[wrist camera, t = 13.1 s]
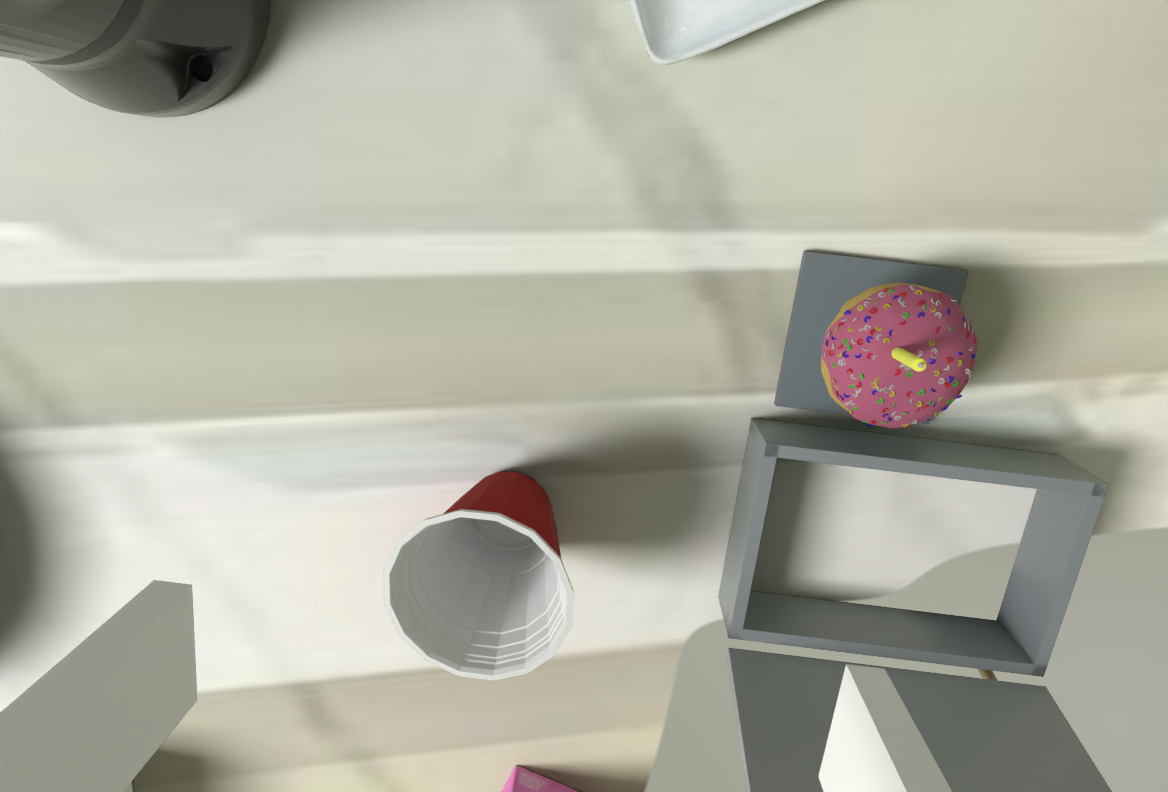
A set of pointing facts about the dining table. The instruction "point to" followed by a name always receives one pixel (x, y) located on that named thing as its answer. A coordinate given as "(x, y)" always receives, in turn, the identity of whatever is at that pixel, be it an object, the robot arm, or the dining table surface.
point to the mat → (818, 304)
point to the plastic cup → (483, 582)
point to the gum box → (532, 783)
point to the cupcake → (898, 354)
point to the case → (907, 634)
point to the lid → (939, 710)
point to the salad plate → (704, 23)
